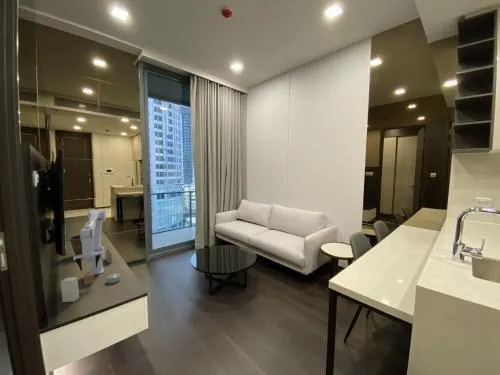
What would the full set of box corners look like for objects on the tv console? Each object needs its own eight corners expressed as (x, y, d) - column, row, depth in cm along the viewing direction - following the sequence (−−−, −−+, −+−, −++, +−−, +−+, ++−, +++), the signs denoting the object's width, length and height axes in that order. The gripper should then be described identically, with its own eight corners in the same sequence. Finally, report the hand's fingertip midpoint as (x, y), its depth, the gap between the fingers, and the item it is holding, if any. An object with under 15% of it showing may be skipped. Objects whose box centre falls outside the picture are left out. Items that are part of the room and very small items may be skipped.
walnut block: (85, 282, 138) (84, 273, 137) (93, 280, 140) (93, 272, 140) (84, 285, 134) (84, 276, 133) (93, 283, 136) (93, 274, 136)
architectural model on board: (112, 263, 168) (112, 250, 167) (108, 264, 166) (107, 251, 165) (110, 258, 176) (109, 247, 176) (105, 259, 174) (105, 247, 174)
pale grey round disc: (106, 279, 141) (106, 275, 141) (120, 276, 145) (120, 272, 145) (106, 285, 134) (105, 280, 134) (121, 281, 138) (120, 277, 138)
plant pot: (97, 252, 190) (96, 234, 189) (82, 258, 175) (81, 239, 174) (81, 251, 191) (80, 233, 190) (65, 258, 177) (64, 238, 175)
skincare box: (79, 297, 121) (78, 276, 120) (73, 302, 116) (72, 280, 115) (67, 298, 120) (66, 276, 119) (61, 302, 115) (60, 280, 115)
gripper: (72, 251, 128) (73, 273, 129) (101, 247, 136) (102, 268, 137) (73, 248, 134) (74, 269, 135) (102, 244, 142) (102, 264, 142)
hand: (88, 268), depth 136 cm, fingers open, 7 cm apart
